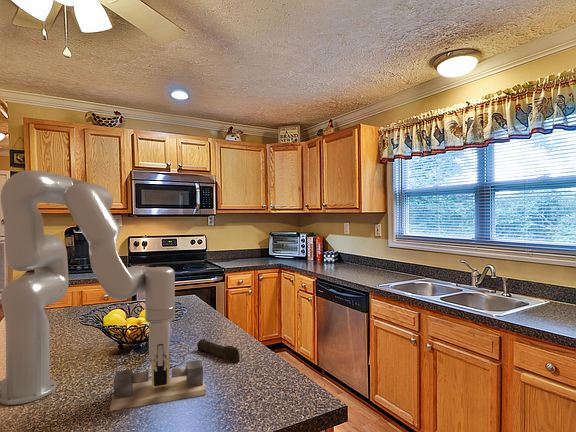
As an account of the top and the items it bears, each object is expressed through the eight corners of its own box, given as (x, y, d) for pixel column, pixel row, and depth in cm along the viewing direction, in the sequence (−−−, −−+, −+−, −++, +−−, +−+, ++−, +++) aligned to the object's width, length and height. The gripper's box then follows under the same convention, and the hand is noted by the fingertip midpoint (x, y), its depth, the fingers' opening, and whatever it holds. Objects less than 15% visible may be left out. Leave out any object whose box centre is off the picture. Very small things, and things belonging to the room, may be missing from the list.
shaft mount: (110, 410, 86) (110, 384, 86) (115, 391, 96) (115, 367, 96) (205, 394, 94) (205, 370, 94) (201, 378, 104) (201, 356, 104)
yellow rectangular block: (151, 388, 92) (151, 361, 92) (152, 381, 96) (152, 355, 96) (169, 385, 94) (169, 359, 94) (169, 378, 98) (169, 353, 98)
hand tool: (196, 351, 125) (196, 338, 124) (205, 348, 128) (205, 335, 128) (232, 366, 113) (232, 352, 113) (241, 362, 116) (241, 348, 116)
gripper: (146, 307, 102) (146, 370, 102) (143, 323, 86) (144, 398, 86) (173, 304, 104) (174, 366, 104) (176, 320, 88) (176, 393, 88)
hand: (160, 380), depth 95 cm, fingers closed on yellow rectangular block, 4 cm apart
